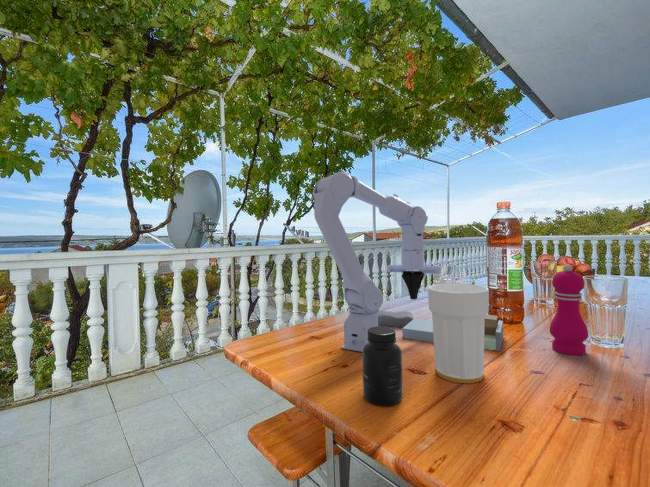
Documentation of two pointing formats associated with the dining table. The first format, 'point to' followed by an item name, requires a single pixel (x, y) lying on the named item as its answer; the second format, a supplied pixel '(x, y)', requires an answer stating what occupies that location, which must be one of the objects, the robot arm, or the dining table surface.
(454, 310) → the cup
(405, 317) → the stone block
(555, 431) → the dining table surface
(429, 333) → the board
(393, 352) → the supplement bottle
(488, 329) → the walnut cube
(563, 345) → the pepper mill
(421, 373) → the dining table surface
